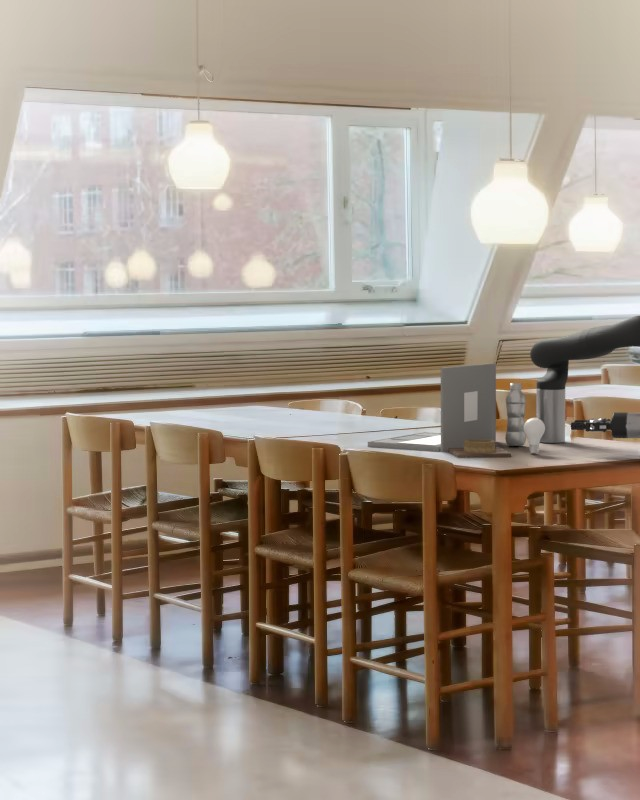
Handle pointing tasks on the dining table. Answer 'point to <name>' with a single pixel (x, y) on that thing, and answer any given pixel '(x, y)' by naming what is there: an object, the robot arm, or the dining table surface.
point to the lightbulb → (534, 433)
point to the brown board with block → (479, 449)
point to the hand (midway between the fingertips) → (572, 424)
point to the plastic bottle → (515, 416)
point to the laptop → (457, 411)
